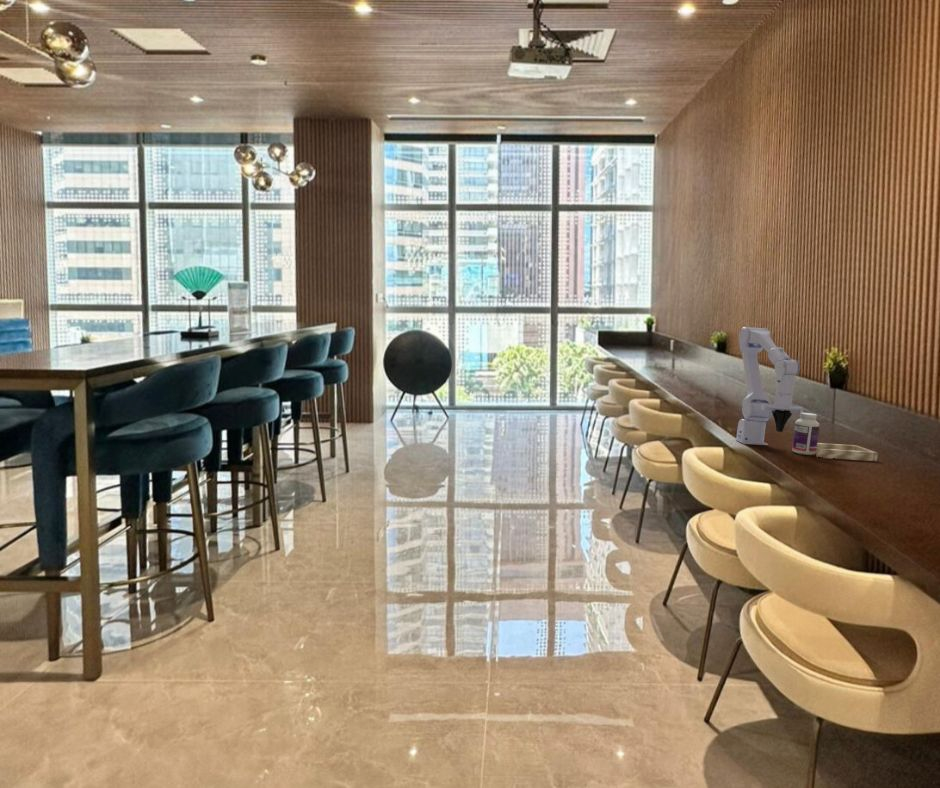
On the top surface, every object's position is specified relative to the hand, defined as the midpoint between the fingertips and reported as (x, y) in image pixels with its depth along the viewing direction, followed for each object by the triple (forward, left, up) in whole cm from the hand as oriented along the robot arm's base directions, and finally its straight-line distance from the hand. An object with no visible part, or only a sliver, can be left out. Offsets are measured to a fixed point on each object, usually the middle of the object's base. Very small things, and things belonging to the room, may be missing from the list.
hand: (779, 431), depth 280 cm
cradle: (+22, 0, -7) cm, 23 cm away
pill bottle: (+10, 0, -8) cm, 13 cm away
